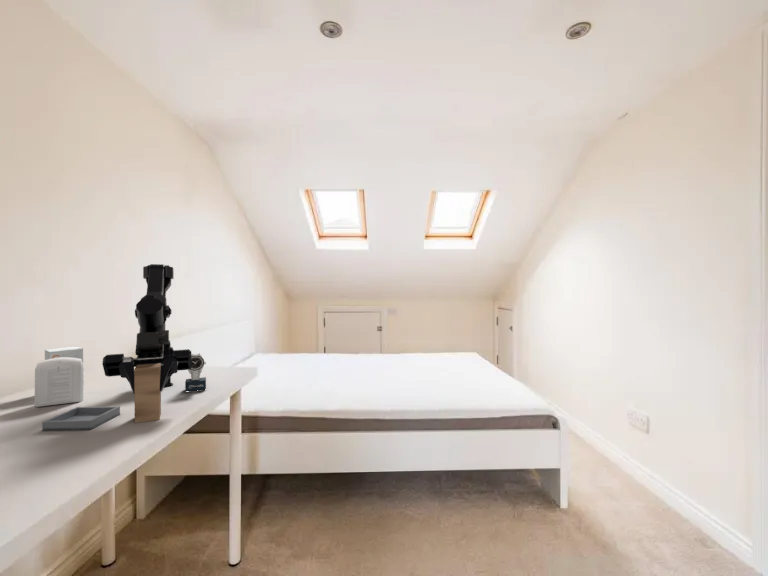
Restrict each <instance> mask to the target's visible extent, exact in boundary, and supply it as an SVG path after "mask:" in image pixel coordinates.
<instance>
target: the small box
mask: <svg viewBox="0 0 768 576" xmlns="http://www.w3.org/2000/svg"><path fill="white" fill-rule="evenodd" d="M61 357H71V358H78V359H82V363H83V364H84V348H83V347H80V346H68V347H59V348H49V349H44V360H48V359H52V358H61Z"/></svg>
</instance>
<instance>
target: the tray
mask: <svg viewBox="0 0 768 576" xmlns="http://www.w3.org/2000/svg"><path fill="white" fill-rule="evenodd" d="M120 415H121V406H76V407H74V408H72V409H70V410H67V411H65V412H63V413H60V414H57V415H55V416H53V417H50V418H48V419H46V420H43V421H42V423H41V425H42V426H41V427H42V429H41V430H42V432H49V431H50V432H52V431H57V432H59V431H92V430H93V429H95V428H98V427H99V426H101V425H103V424H104V423H105V424H106V423H107V422H109V421H110V420H112V419H114V418H116V417H118V416H120Z"/></svg>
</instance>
